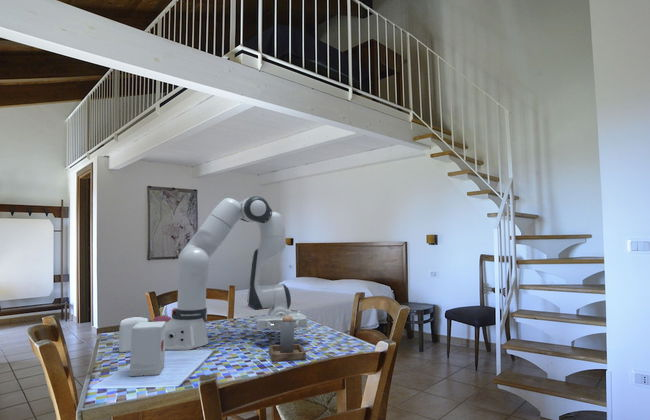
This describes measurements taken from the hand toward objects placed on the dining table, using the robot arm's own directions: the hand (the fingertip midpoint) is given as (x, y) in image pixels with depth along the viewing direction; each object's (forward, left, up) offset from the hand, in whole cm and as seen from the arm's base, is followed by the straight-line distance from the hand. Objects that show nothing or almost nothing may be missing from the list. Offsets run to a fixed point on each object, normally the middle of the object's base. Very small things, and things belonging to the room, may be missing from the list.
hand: (284, 326), depth 155 cm
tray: (0, -8, -9) cm, 12 cm away
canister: (0, -8, -8) cm, 12 cm away
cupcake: (-51, +41, -9) cm, 66 cm away
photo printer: (-56, +10, -9) cm, 58 cm away
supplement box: (-46, -16, -9) cm, 50 cm away
